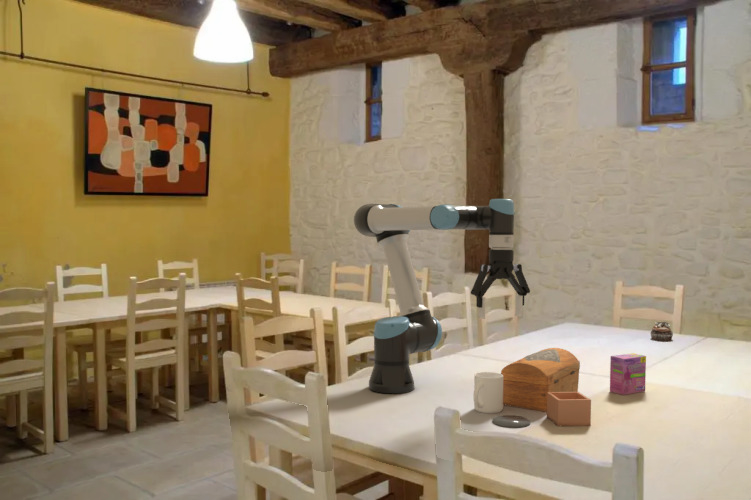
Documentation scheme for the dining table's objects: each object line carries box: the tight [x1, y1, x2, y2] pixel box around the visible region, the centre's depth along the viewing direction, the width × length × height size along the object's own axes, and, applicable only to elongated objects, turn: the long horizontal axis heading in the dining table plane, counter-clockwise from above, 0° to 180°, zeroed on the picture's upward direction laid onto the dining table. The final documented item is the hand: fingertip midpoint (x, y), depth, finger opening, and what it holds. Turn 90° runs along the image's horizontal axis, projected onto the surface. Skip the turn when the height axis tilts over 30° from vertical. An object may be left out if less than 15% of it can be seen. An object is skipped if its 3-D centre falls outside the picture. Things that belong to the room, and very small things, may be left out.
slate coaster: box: [492, 414, 531, 429], centre depth 187 cm, size 10×10×1 cm
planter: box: [546, 391, 592, 427], centre depth 188 cm, size 9×9×7 cm
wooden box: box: [500, 347, 581, 413], centre depth 214 cm, size 30×16×14 cm, turn 146°
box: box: [609, 352, 647, 396], centre depth 223 cm, size 10×6×12 cm, turn 117°
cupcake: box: [650, 321, 674, 342], centre depth 317 cm, size 10×10×10 cm
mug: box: [473, 371, 504, 414], centre depth 198 cm, size 12×8×10 cm
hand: (500, 317), depth 213 cm, fingers open, 13 cm apart
